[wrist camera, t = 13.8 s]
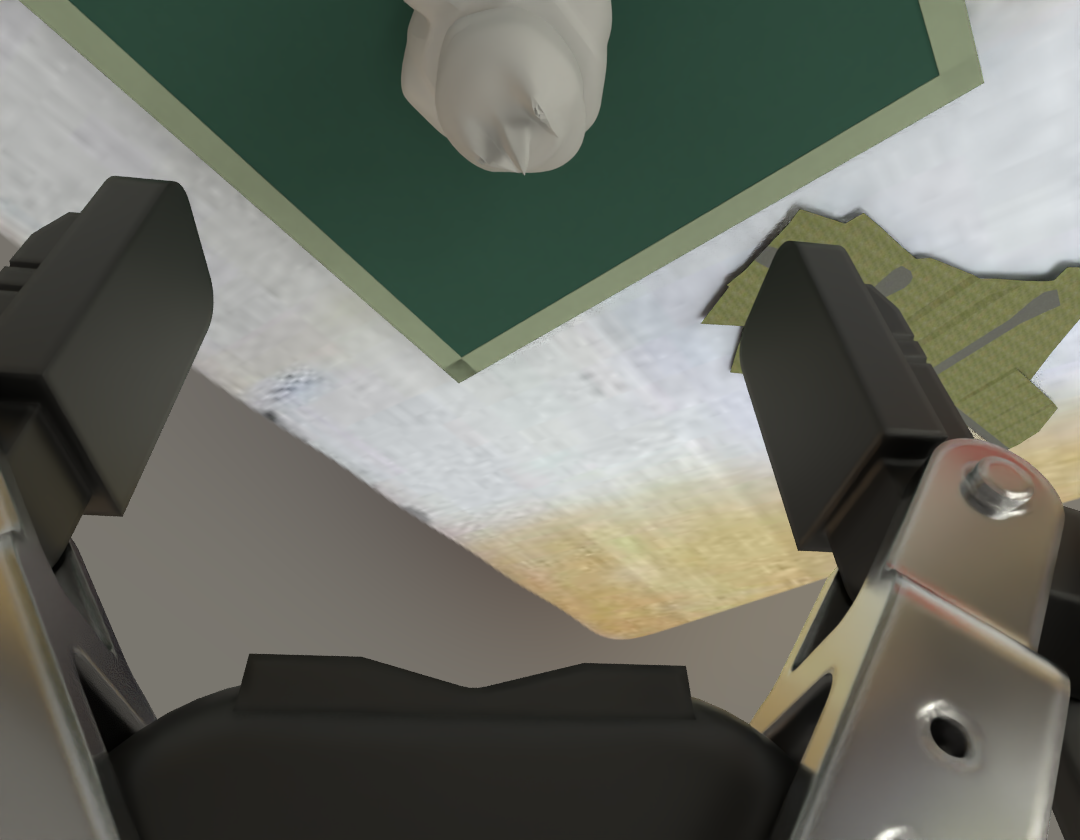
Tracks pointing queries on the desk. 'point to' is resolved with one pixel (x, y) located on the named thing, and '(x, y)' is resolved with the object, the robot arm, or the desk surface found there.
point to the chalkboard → (508, 197)
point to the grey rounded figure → (508, 76)
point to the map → (945, 321)
